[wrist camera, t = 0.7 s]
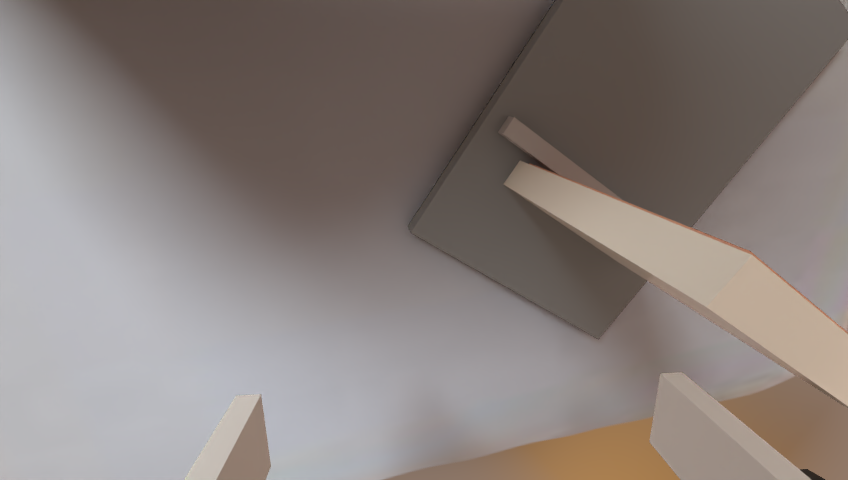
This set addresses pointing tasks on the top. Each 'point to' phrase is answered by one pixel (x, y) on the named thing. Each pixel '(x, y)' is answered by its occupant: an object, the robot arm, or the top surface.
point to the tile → (700, 276)
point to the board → (622, 132)
